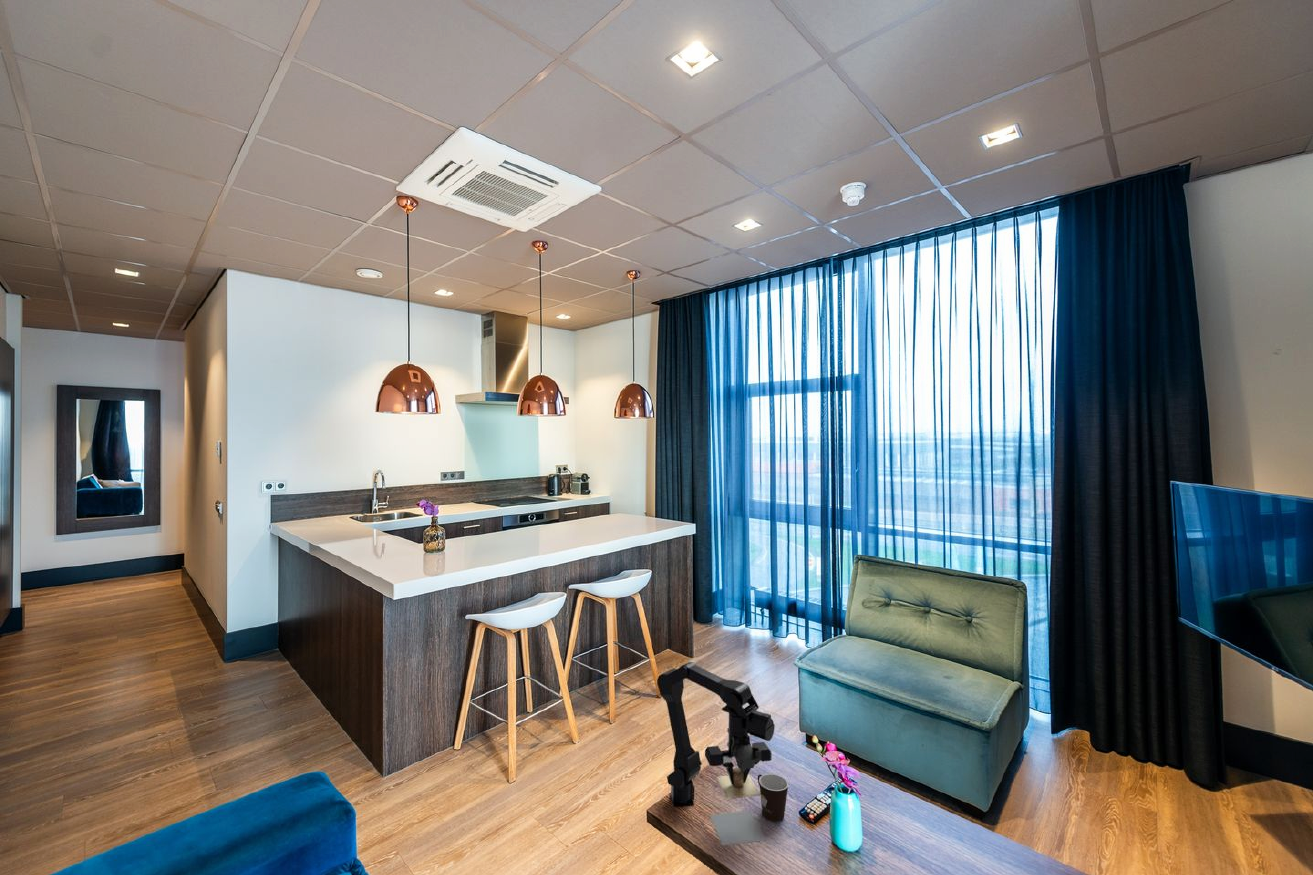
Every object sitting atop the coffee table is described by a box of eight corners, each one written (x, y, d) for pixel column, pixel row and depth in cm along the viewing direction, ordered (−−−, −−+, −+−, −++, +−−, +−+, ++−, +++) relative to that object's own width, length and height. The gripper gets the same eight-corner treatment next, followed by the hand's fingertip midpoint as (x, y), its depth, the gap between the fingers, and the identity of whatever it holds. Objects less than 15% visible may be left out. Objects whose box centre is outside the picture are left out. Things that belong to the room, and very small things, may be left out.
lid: (726, 799, 155) (726, 782, 155) (716, 778, 164) (716, 763, 165) (760, 795, 156) (760, 779, 157) (748, 775, 166) (748, 760, 166)
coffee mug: (790, 825, 162) (791, 791, 162) (761, 824, 162) (761, 790, 162) (782, 800, 173) (782, 768, 174) (755, 799, 173) (755, 767, 174)
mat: (722, 846, 153) (722, 845, 153) (709, 815, 165) (709, 814, 165) (766, 841, 155) (766, 839, 155) (750, 811, 168) (750, 810, 168)
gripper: (715, 746, 151) (715, 803, 151) (779, 740, 155) (779, 796, 154) (704, 726, 162) (704, 780, 162) (764, 721, 166) (763, 774, 165)
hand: (737, 783), depth 161 cm, fingers closed on lid, 3 cm apart
